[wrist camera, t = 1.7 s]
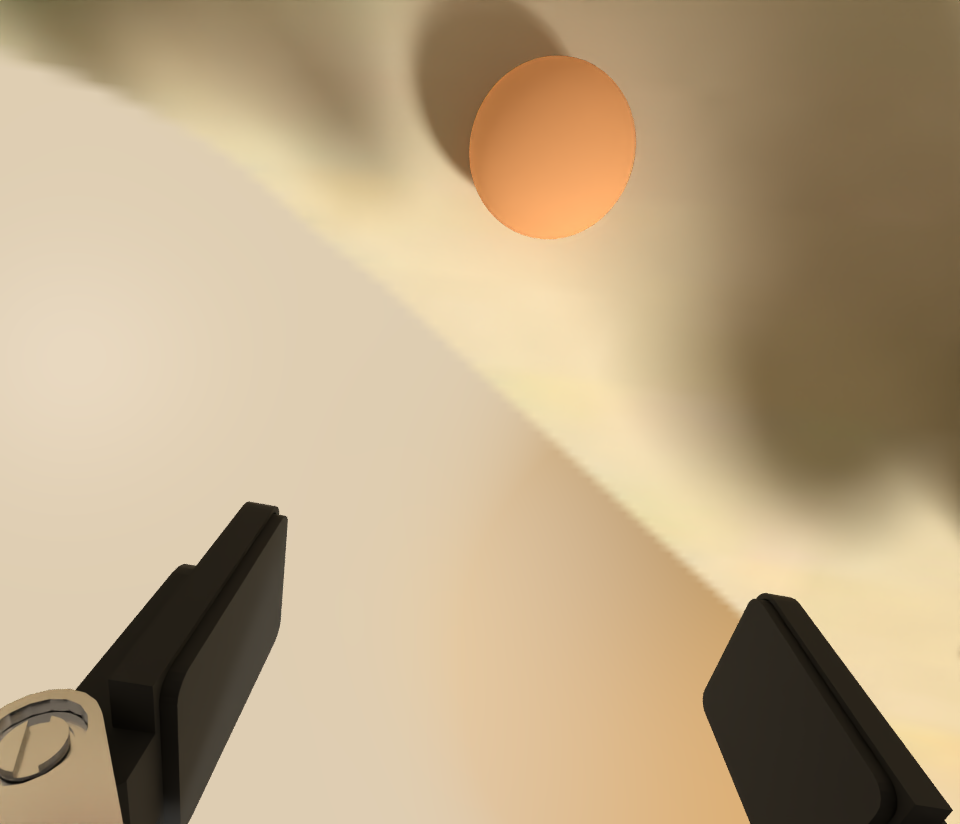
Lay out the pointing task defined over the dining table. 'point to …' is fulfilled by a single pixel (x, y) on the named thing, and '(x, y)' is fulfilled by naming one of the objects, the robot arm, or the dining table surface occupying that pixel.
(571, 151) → the ball
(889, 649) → the dining table surface
